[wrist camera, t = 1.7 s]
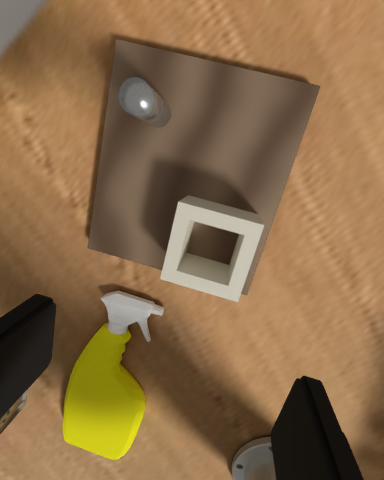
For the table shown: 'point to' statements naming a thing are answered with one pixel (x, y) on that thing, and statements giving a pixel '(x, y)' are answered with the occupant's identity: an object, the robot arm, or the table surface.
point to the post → (144, 102)
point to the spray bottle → (107, 382)
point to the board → (194, 153)
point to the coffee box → (12, 412)
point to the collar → (205, 270)
